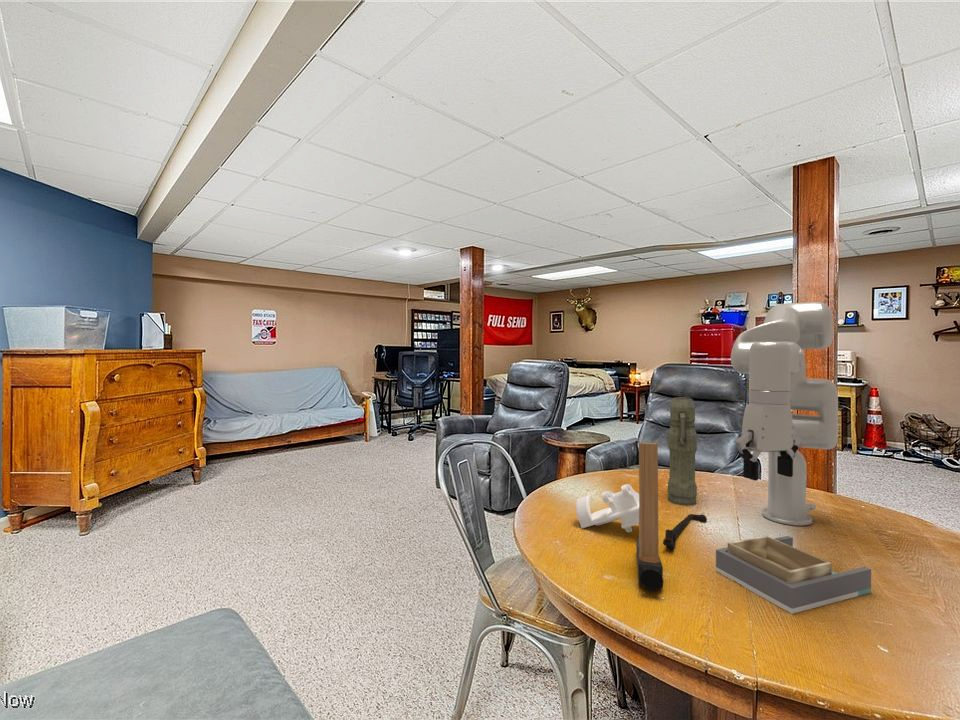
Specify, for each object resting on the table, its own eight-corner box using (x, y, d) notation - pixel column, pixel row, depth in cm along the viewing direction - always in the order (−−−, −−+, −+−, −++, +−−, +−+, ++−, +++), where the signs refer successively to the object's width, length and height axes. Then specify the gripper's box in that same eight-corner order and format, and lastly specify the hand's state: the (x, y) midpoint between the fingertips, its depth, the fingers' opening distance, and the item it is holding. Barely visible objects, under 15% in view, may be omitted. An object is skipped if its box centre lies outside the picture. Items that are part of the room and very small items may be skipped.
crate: (766, 559, 107) (766, 535, 107) (831, 590, 93) (831, 563, 93) (727, 567, 103) (727, 542, 103) (789, 601, 90) (789, 572, 89)
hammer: (636, 563, 113) (635, 441, 118) (657, 566, 111) (656, 442, 116) (638, 589, 94) (638, 442, 99) (664, 592, 92) (662, 443, 97)
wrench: (707, 528, 135) (682, 558, 111) (689, 525, 138) (661, 553, 114) (707, 510, 135) (682, 536, 111) (688, 507, 138) (660, 532, 114)
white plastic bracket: (588, 548, 128) (568, 503, 131) (602, 534, 137) (583, 493, 140) (654, 530, 117) (631, 482, 121) (664, 517, 127) (642, 472, 130)
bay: (787, 555, 112) (788, 535, 112) (870, 592, 95) (871, 569, 95) (715, 570, 104) (715, 549, 104) (791, 613, 87) (792, 588, 87)
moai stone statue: (693, 496, 157) (694, 396, 156) (699, 508, 146) (700, 399, 145) (666, 494, 159) (666, 395, 159) (669, 505, 148) (670, 399, 147)
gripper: (782, 396, 104) (781, 470, 104) (723, 398, 99) (722, 475, 99) (815, 399, 97) (814, 478, 97) (753, 401, 92) (752, 485, 92)
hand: (768, 477), depth 98 cm, fingers open, 9 cm apart
